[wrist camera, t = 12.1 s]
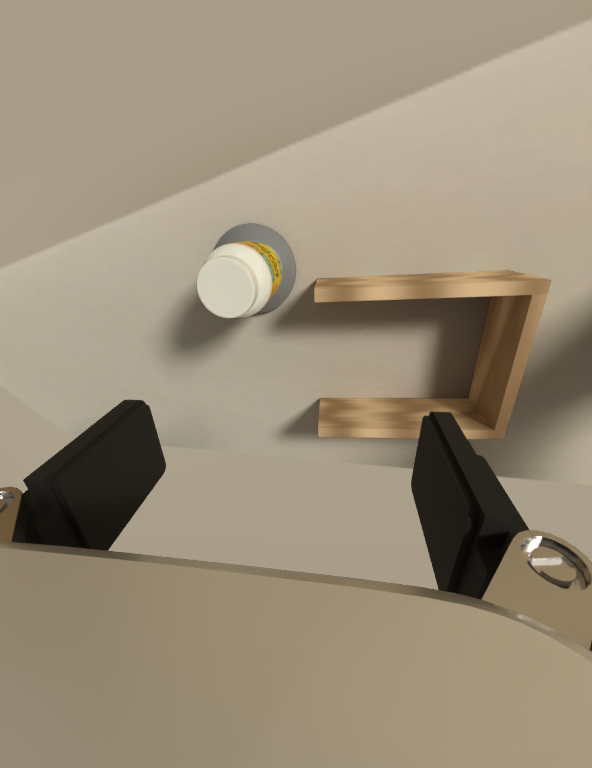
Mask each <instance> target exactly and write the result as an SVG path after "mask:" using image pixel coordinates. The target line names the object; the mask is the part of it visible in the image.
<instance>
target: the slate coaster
mask: <svg viewBox="0 0 592 768" xmlns="http://www.w3.org/2000/svg"><path fill="white" fill-rule="evenodd" d="M244 241H258V242H262V243H264V244H266V245H268V246H269V247H271V248H272V249H273V250H274V251H275V253H276V254H277V255H278V257H279V259H280V261H281V265H282V281H281V284H280V286H279V288H278V290H277V291H276V292H275V294H274V295H273V296H272V297H271V299H270V300H269V301H268V302H267V303H266V305H265V306H264V307H263V308H262V309H261V310H260V311H259V312H257V313H256V314H258V313H265V312H269V311H271V310H273V309H275V308H277V307H278V306H280V305H281V304H282V303H283V302H284V301H285V300H286V298H287V297H288V296H289V294H290V292H291V290H292V288H293V286H294V282H295V276H296V266H295V260H294V256H293V254H292V251H291V249H290V247H289V245H288V244H287V242H286V241H285V240H284V239H283V238H282V236H280V235H279V234H278V233H277V232H276V231H274V230H272V229H271V228H269V227H266V226H263V225H260V224H242V225H238V226H236V227H234V228H232V229H230V230H229V231H227V232H226V233H225V234H224V235H223V236H222V237H221V238H220V240H219V241H218V243H217V244H216V247H215V249H216V248H218V247H220V246H222V245H225V244H230V243H237V242H244ZM215 249H214V250H215Z"/></svg>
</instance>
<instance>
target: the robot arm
mask: <svg viewBox="0 0 592 768" xmlns="http://www.w3.org/2000/svg"><path fill="white" fill-rule="evenodd" d="M165 468H166V463H165V459H164V456H163V452H162V449H161V445H160V442H159V438H158V435H157V431H156V428H155V424H154V421H153V417H152V414H151V410H150V407H149V406H148V405H146V404H145V402H144V401H142V400H124V401H122V402H121V403H120V404H119V405H117V406H116V407H115V408H113V409H112V410H111V411H110V412H108V413H107V414H106V415H105V416H103V417H102V418H101V419H100V420H98V421H97V422H96V423H95V424H93V425H92V426H91V427H89V428H88V429H87V430H86V431H84V432H83V433H82V434H81V435H79V436H78V437H77V438H76V439H74V440H73V441H72V442H71V443H69V444H68V445H67V446H66V447H64V448H63V449H62V450H60V451H59V452H58V453H57V454H55V455H54V456H53V457H52V458H50V459H49V460H48V461H47V462H45V463H44V464H43V465H41V466H40V467H39V468H38V469H36V470H35V471H34V472H33V473H31V474H30V475H29V476H27V477H26V478H25V479H24V480H23V481H24V483H25V484H26V486H27V488H28V490H27V491H26V492H25V493H23V494H22V492H21V491H20V490H19V489H18V488H15V487H4V488H0V768H592V562H591V561H590V560H589V558H588V557H587V556H586V555H584V554H583V553H582V552H581V551H580V550H578V549H577V548H576V547H575V546H573V545H571V544H570V543H568V542H566V541H565V540H563V539H561V538H559V537H557V536H554V535H552V534H550V533H545V532H541V531H537V530H536V531H535V530H529V529H528V527H527V525H526V524H525V522H524V521H523V519H522V517H521V516H520V514H519V513H518V511H517V510H516V508H515V506H514V505H513V503H512V501H511V500H510V498H509V497H508V495H507V493H506V492H505V490H504V489H503V487H502V485H501V484H500V482H499V481H498V479H497V477H496V476H495V474H494V473H493V471H492V469H491V468H490V466H489V465H488V463H487V461H486V460H485V459H484V458H483V457H482V456H480V455H476V453H475V451H474V450H473V448H472V446H471V445H470V443H469V441H468V440H467V438H466V436H465V435H464V433H463V431H462V430H461V428H460V426H459V425H458V423H457V421H456V420H455V418H454V416H453V415H452V413H451V412H436V411H431V412H430V413H429V416H423V419H422V424H421V429H420V435H419V441H418V446H417V452H416V457H415V463H414V469H413V474H412V481H411V487H412V493H413V496H414V500H415V504H416V507H417V511H418V515H419V518H420V522H421V525H422V529H423V533H424V537H425V541H426V544H427V548H428V552H429V555H430V559H431V563H432V567H433V570H434V574H435V578H436V581H437V585H438V589H439V590H435V589H429V588H423V587H417V586H410V585H402V584H394V583H387V582H379V581H372V580H364V579H356V578H349V577H340V576H331V575H323V574H314V573H305V572H295V571H287V570H279V569H270V568H262V567H253V566H243V565H234V564H226V563H216V562H207V561H198V560H189V559H180V558H171V557H161V556H152V555H142V554H133V553H123V552H113V551H108V550H109V548H110V547H111V545H112V544H113V543H114V541H115V540H116V539H117V537H118V536H119V534H120V533H121V532H122V530H123V529H124V528H125V526H126V525H127V523H128V522H129V521H130V519H131V518H132V517H133V515H134V514H135V512H136V511H137V509H138V508H139V507H140V505H141V504H142V503H143V501H144V500H145V499H146V497H147V496H148V494H149V493H150V492H151V490H152V489H153V487H154V486H155V485H156V483H157V482H158V481H159V479H160V478H161V476H162V475H163V474H164V472H165Z"/></svg>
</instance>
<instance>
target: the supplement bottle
mask: <svg viewBox="0 0 592 768" xmlns="http://www.w3.org/2000/svg"><path fill="white" fill-rule="evenodd" d="M281 281H282V265H281V261H280V259H279V257H278V255H277V254H276V253H275V251H274V250H273V249H272V248H271V247H269V246H268V245H266V244H264V243H262V242H258V241H244V242H237V243H230V244H225V245H222V246H220V247H218V248H216V249H215V250H213V251H212V252H211V253H210V254H209V255H208V257H207V258H206V260H205V262H204V264H203V267H202V268H201V270H200V271H199V274H198V277H197V291H198V295H199V297H200V299H201V301H202V303H203V304H204V306H205V307H206V308H207V309H208V310H209V311H210V312H212V313H213V314H215V315H217V316H220V317H223V318H236V317H238V318H242V317H248V316H251V315H254V314H255V313H257V312H259V311H260V310H261V309H262V308H263V307H264V306H265V305H266V303H267V302H268V301H269V300H270V299H271V297H272V296H273V295H274V294H275V292H276V291H277V290H278V288H279V286H280V284H281Z"/></svg>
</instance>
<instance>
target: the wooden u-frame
mask: <svg viewBox="0 0 592 768" xmlns="http://www.w3.org/2000/svg"><path fill="white" fill-rule="evenodd" d="M550 283H551V280H549V279H545V278H540V277H536V276H531V275H527V274H522V273H518V272H513V271H509V270H505V271H482V272H459V273H437V274H414V275H391V276H368V277H345V278H322V279H317V281H316V285H315V288H314V299H315V302H341V301H370V300H398V299H427V298H456V297H484V296H491V298H490V302H489V307H488V311H487V316H486V320H485V325H484V330H483V334H482V339H481V343H480V348H479V352H478V357H477V362H476V366H475V371H474V375H473V380H472V384H471V389H470V393H469V398H320V406H319V422H318V437H367V438H419V435H420V429H421V424H422V419H423V416H429V413H430V412H431V411H436V412H451V413H452V415H453V416H454V418H455V420H456V421H457V423H458V425H459V426H460V428H461V430H462V431H463V433H464V435H465V436H466V438H467V439H504V438H505V434H506V431H507V428H508V424H509V421H510V418H511V414H512V411H513V408H514V404H515V401H516V398H517V394H518V391H519V387H520V384H521V381H522V377H523V374H524V371H525V367H526V364H527V361H528V357H529V354H530V350H531V347H532V344H533V340H534V337H535V334H536V330H537V327H538V324H539V320H540V317H541V313H542V310H543V307H544V303H545V300H546V297H547V293H548V290H549V287H550Z"/></svg>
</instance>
